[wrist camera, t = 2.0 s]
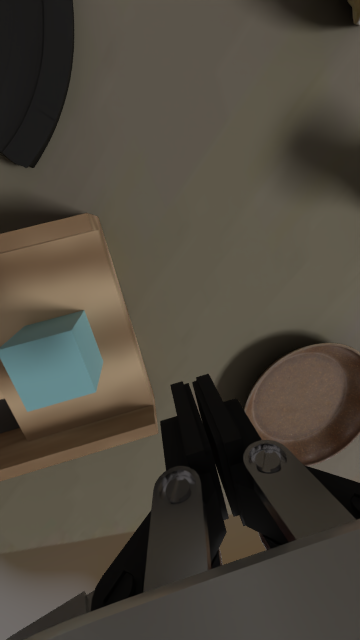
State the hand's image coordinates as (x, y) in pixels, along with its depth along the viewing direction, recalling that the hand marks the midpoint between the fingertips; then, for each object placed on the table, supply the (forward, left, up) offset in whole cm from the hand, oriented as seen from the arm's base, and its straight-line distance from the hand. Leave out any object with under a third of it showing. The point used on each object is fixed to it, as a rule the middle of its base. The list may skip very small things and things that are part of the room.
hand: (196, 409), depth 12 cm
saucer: (+13, +12, -15) cm, 23 cm away
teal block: (-1, -8, -11) cm, 14 cm away
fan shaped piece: (-20, -5, -15) cm, 25 cm away
